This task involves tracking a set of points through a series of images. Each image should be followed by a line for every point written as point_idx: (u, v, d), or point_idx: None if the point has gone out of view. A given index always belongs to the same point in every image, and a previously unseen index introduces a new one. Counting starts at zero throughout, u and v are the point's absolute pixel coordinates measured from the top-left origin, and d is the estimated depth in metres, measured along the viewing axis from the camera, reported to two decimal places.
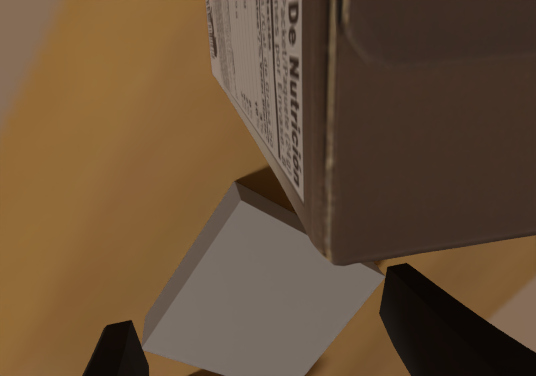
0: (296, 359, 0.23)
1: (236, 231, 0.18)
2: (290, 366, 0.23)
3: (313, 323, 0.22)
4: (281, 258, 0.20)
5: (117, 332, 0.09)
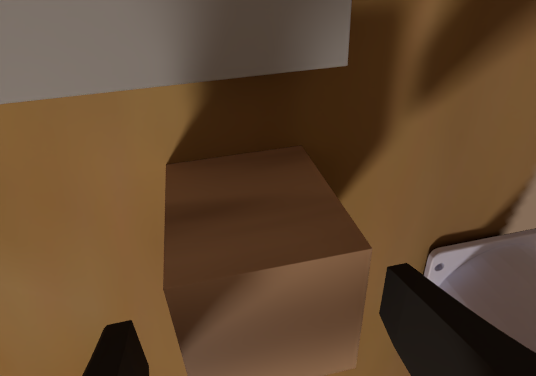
0: None
1: None
2: None
3: None
4: None
5: (117, 332, 0.09)
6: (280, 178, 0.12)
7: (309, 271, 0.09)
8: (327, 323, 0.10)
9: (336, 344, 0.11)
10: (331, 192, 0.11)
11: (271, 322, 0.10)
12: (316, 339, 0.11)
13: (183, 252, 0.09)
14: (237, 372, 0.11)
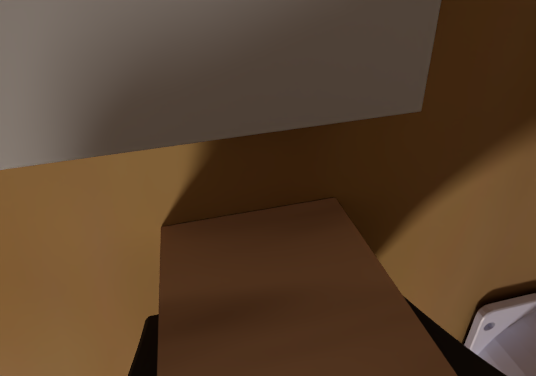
0: None
1: None
2: None
3: None
4: None
5: None
6: (315, 255, 0.09)
7: None
8: None
9: None
10: (389, 281, 0.08)
11: None
12: None
13: None
14: None
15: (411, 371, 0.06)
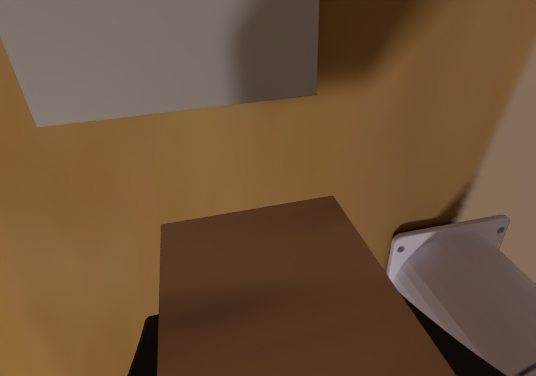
0: (282, 21, 0.13)
1: None
2: (281, 40, 0.13)
3: None
4: None
5: None
6: (312, 251, 0.09)
7: None
8: None
9: None
10: (385, 277, 0.08)
11: None
12: None
13: None
14: None
15: (405, 363, 0.07)
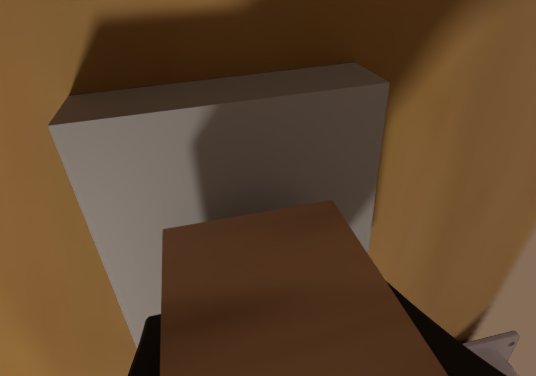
0: None
1: (93, 170, 0.11)
2: None
3: None
4: (195, 162, 0.12)
5: (159, 323, 0.09)
6: (312, 257, 0.09)
7: None
8: None
9: None
10: (384, 283, 0.08)
11: None
12: None
13: None
14: None
15: (402, 369, 0.07)
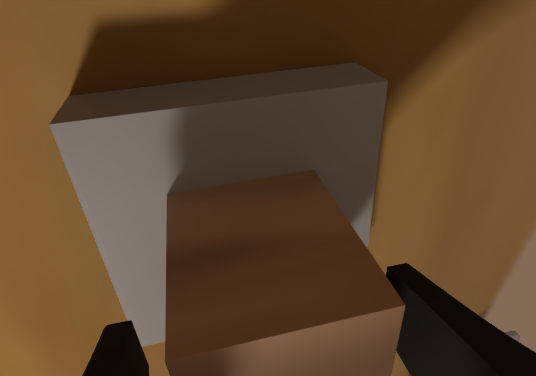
0: None
1: (94, 169, 0.11)
2: None
3: None
4: (195, 160, 0.12)
5: (117, 332, 0.09)
6: (293, 212, 0.11)
7: (333, 332, 0.08)
8: None
9: None
10: (352, 230, 0.10)
11: None
12: None
13: (188, 311, 0.08)
14: None
15: (360, 288, 0.08)
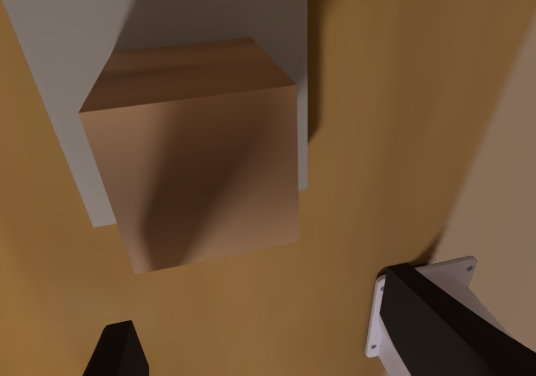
0: None
1: (35, 21, 0.12)
2: None
3: None
4: (131, 19, 0.13)
5: (117, 332, 0.09)
6: (222, 54, 0.12)
7: (233, 107, 0.09)
8: (261, 179, 0.10)
9: (274, 209, 0.11)
10: (269, 59, 0.11)
11: (200, 170, 0.10)
12: (252, 199, 0.10)
13: (107, 94, 0.09)
14: (172, 233, 0.10)
15: (262, 80, 0.09)
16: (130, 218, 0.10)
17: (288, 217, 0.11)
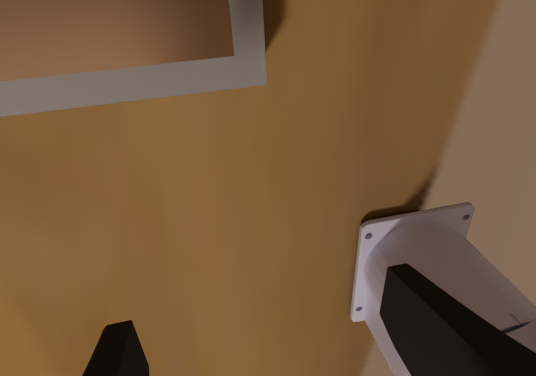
0: None
1: None
2: None
3: None
4: None
5: (116, 332, 0.09)
6: None
7: None
8: None
9: None
10: None
11: None
12: None
13: None
14: (41, 11, 0.07)
15: None
16: None
17: (214, 6, 0.08)
